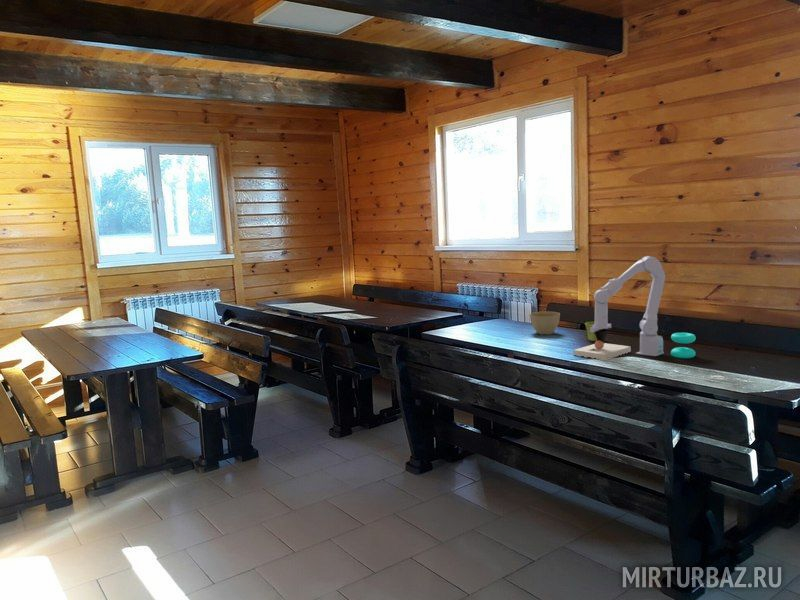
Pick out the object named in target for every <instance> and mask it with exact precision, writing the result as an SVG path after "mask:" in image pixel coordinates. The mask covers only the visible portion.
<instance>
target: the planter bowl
mask: <svg viewBox="0 0 800 600" xmlns="http://www.w3.org/2000/svg"><path fill="white" fill-rule="evenodd" d="M560 316H561V313H560V312H557V311H537V312H536V311H535V312H531V313H529V319H530V322H531V323H530V324H531V325H532V328H533V329H534V330H535V332H536V334H537V333H539V334H538V335H543V334H546V335H552V334H554V333H555V331H556V329H557V328H558V326H559V323H560V318H561V317H560Z"/></svg>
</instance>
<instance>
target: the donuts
mask: <svg viewBox="0 0 800 600" xmlns="http://www.w3.org/2000/svg"><path fill="white" fill-rule="evenodd" d="M696 338H697V337H696V335H695V334H693V333H689V332H674V333H672V334H671V336H670V339H671V340H672V341H673V342H675V343H677V344H691V343H694V342H695V341H696ZM670 355H671V356H672V357H674V358H677V359H691V358H692V359H693V358H694V357H695V356H696V351H695V350H694V349H692V348H691V347H685V346H679V347H674V348H672V349H671V351H670Z"/></svg>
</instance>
